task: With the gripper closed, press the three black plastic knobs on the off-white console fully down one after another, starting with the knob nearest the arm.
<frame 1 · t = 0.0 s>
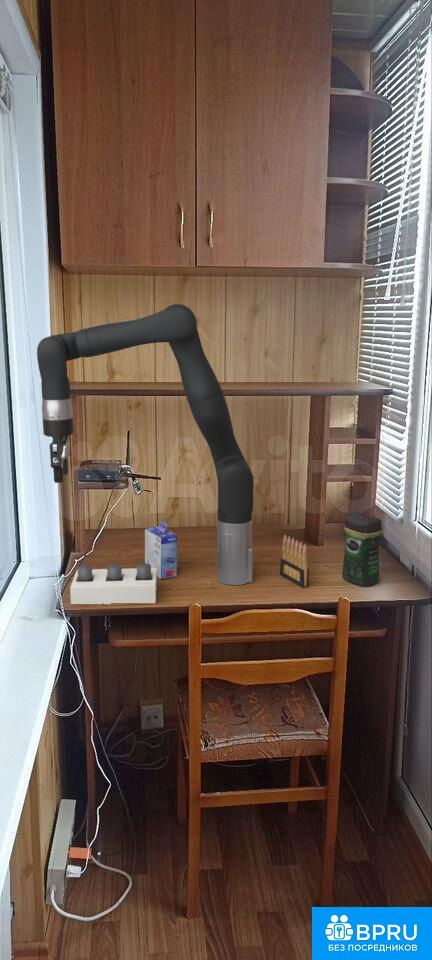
hand: (61, 478, 183), 29 cm above the table, fingers open, 8 cm apart
coffee jar: (360, 581, 191), on the table
console: (115, 595, 182), on the table
knob far: (85, 574, 180), point 6 cm above the table, slide at 0.0 cm
ammunition clip: (293, 581, 191), on the table
knob middle: (114, 574, 181), point 6 cm above the table, slide at 0.0 cm
knob near: (144, 573, 181), point 6 cm above the table, slide at 0.0 cm
ink cartridge box: (161, 573, 197), on the table
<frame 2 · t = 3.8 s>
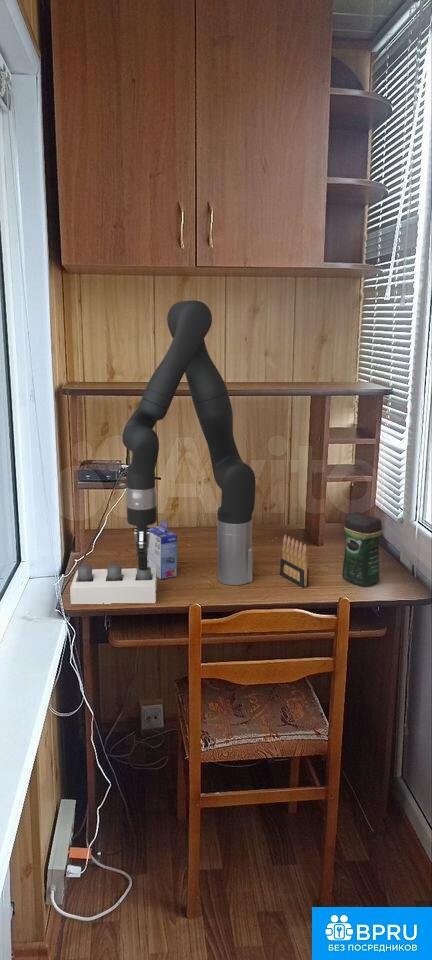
hand: (143, 568, 181), 7 cm above the table, fingers closed
knob near: (144, 576, 181), point 5 cm above the table, slide at 0.8 cm, touching gripper
everything else where it was.
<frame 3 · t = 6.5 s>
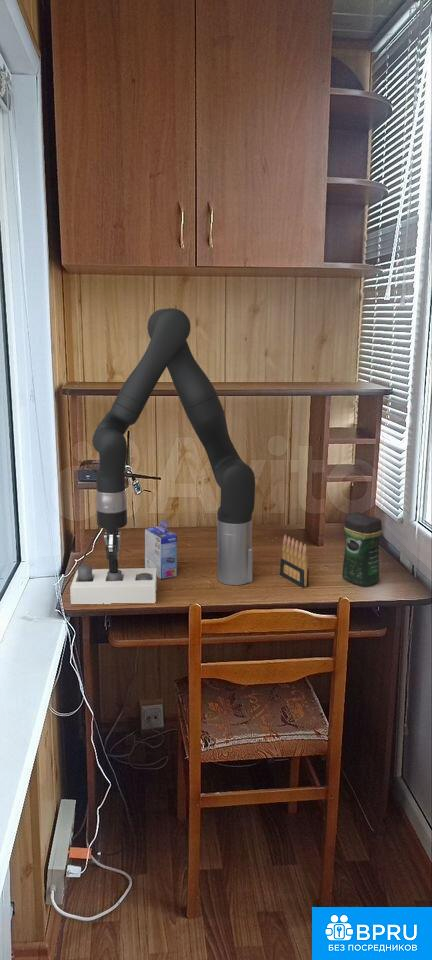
hand: (113, 571, 180), 7 cm above the table, fingers closed
knob middle: (114, 579, 181), point 5 cm above the table, slide at 1.5 cm, touching gripper
knob near: (144, 582, 182), point 3 cm above the table, slide at 2.7 cm
everything else where it was.
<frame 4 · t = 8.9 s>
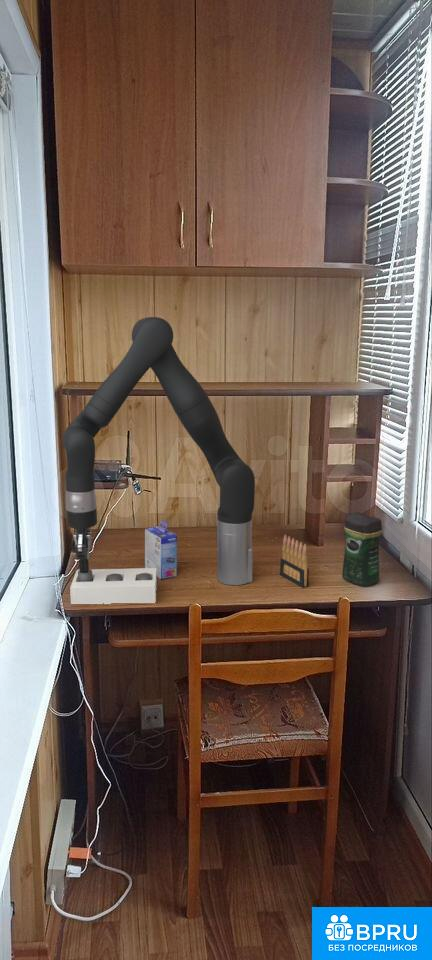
hand: (84, 571, 180), 7 cm above the table, fingers closed
knob far: (85, 579, 181), point 5 cm above the table, slide at 1.2 cm, touching gripper
knob middle: (115, 583, 181), point 3 cm above the table, slide at 2.6 cm
everything else where it was.
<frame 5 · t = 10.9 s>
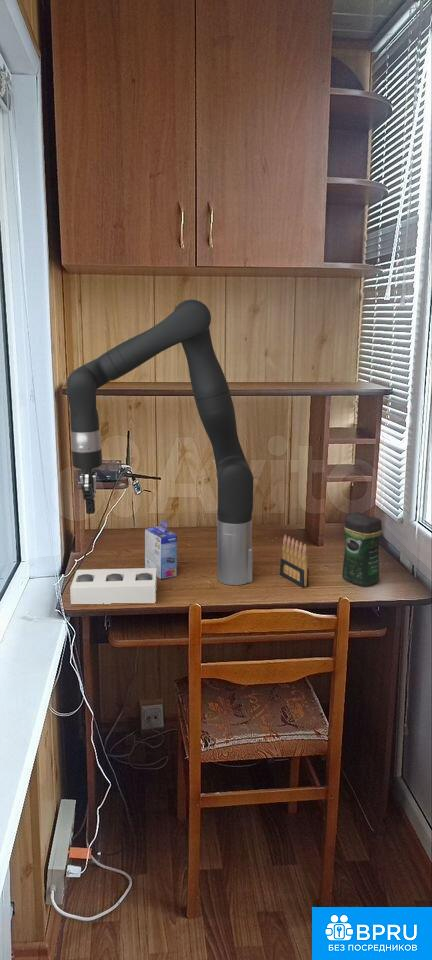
hand: (90, 512, 184), 20 cm above the table, fingers closed
knob far: (85, 584, 181), point 3 cm above the table, slide at 2.6 cm
everything else where it was.
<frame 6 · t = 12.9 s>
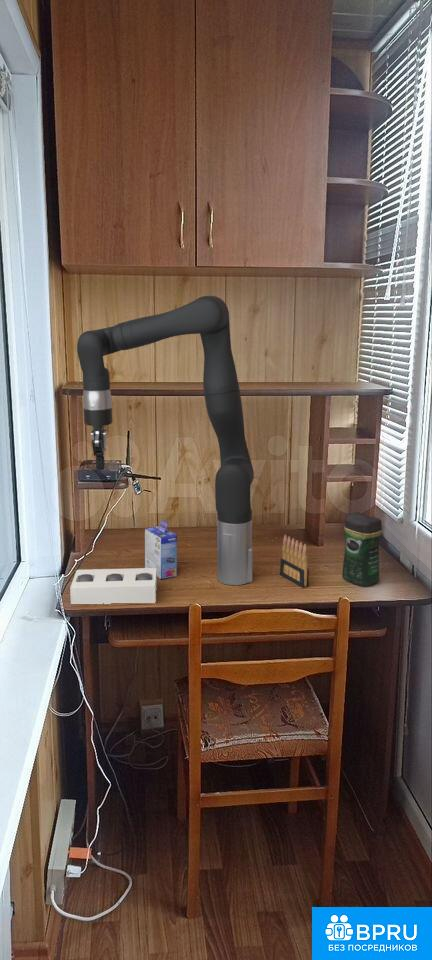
hand: (100, 469, 193), 29 cm above the table, fingers closed
nothing on the table moved.
at the end: knob near slide at 2.7 cm; knob middle slide at 2.6 cm; knob far slide at 2.6 cm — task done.
